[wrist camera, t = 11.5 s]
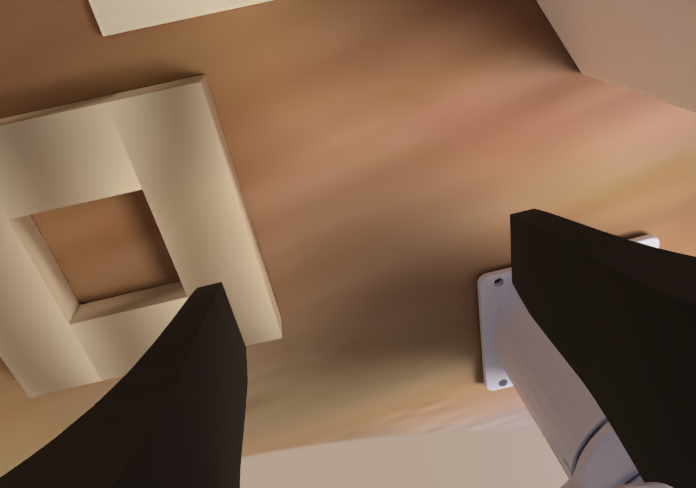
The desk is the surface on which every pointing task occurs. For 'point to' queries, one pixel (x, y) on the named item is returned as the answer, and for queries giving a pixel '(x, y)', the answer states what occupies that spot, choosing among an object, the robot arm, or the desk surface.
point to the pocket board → (110, 180)
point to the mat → (155, 12)
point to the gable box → (632, 44)
